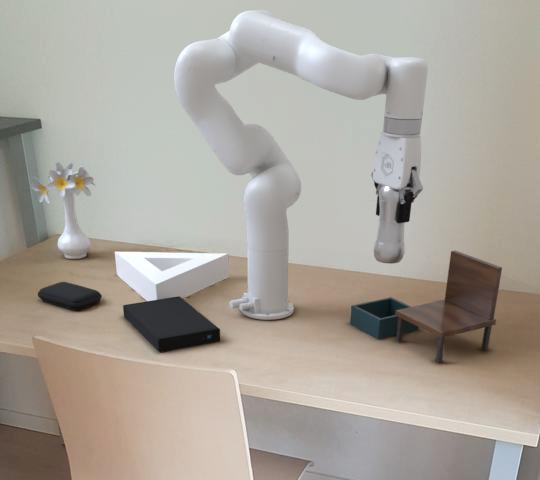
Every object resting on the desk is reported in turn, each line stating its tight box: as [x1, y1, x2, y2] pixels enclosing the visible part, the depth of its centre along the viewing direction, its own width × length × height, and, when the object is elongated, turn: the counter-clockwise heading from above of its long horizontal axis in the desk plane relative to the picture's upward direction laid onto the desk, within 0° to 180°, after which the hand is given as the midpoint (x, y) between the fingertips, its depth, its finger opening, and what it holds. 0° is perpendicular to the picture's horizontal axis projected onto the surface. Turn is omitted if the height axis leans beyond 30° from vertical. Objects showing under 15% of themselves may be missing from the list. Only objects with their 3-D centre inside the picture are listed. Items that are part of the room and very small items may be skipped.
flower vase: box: [29, 160, 96, 260], centre depth 217 cm, size 13×18×25 cm
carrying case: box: [37, 281, 103, 311], centre depth 192 cm, size 11×3×15 cm
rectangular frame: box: [349, 296, 420, 340], centre depth 179 cm, size 12×11×4 cm
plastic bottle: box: [373, 185, 408, 265], centre depth 167 cm, size 6×7×20 cm
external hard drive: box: [122, 296, 221, 353], centre depth 177 cm, size 14×23×3 cm, turn 27°
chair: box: [395, 250, 503, 364], centre depth 166 cm, size 15×15×18 cm
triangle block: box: [114, 251, 230, 302], centre depth 203 cm, size 30×26×6 cm
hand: (392, 217), depth 167 cm, fingers closed on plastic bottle, 6 cm apart
